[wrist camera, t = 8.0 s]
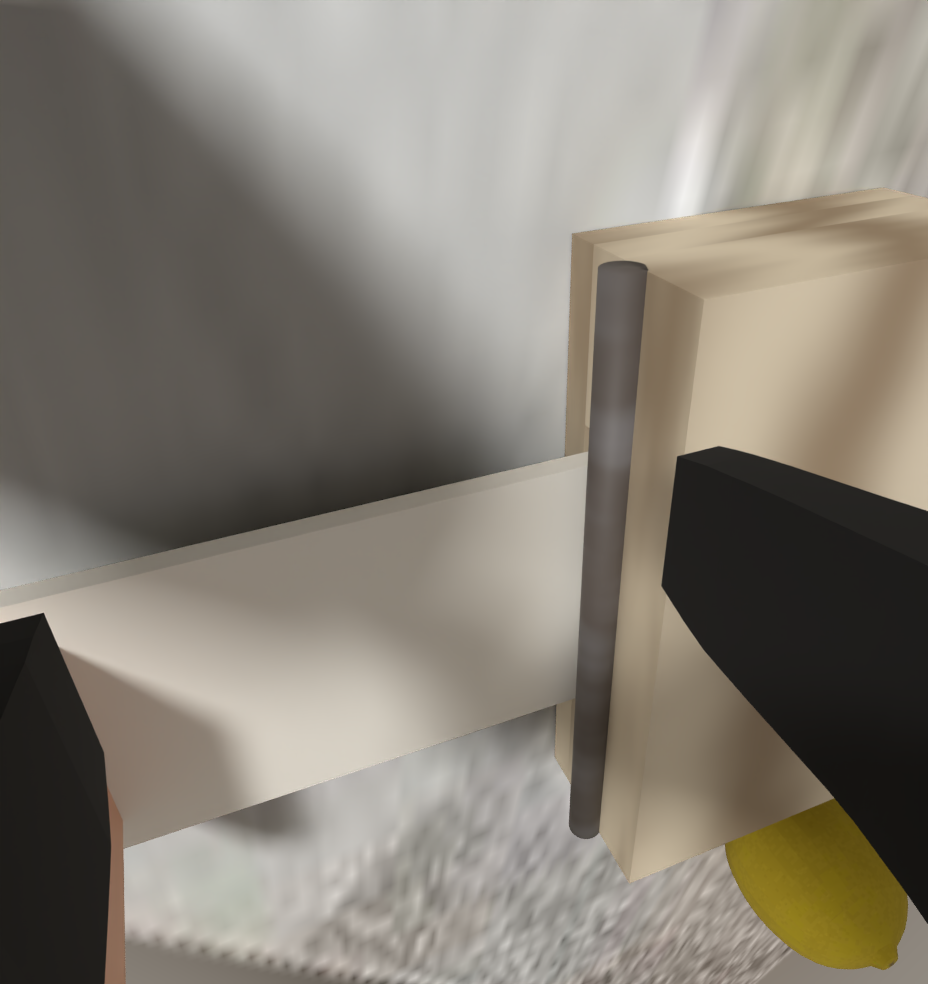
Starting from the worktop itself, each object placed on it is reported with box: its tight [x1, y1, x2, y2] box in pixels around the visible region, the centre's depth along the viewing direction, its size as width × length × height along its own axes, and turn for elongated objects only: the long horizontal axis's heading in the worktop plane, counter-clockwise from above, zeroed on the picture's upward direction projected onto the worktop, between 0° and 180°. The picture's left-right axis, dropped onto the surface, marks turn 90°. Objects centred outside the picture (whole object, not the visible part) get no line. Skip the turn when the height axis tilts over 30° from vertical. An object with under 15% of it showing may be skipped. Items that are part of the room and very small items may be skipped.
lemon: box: [725, 798, 908, 970], centre depth 30 cm, size 6×6×8 cm
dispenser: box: [555, 188, 928, 883], centre depth 22 cm, size 10×18×5 cm, turn 2°
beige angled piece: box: [0, 452, 588, 984], centre depth 18 cm, size 15×8×6 cm, turn 92°
